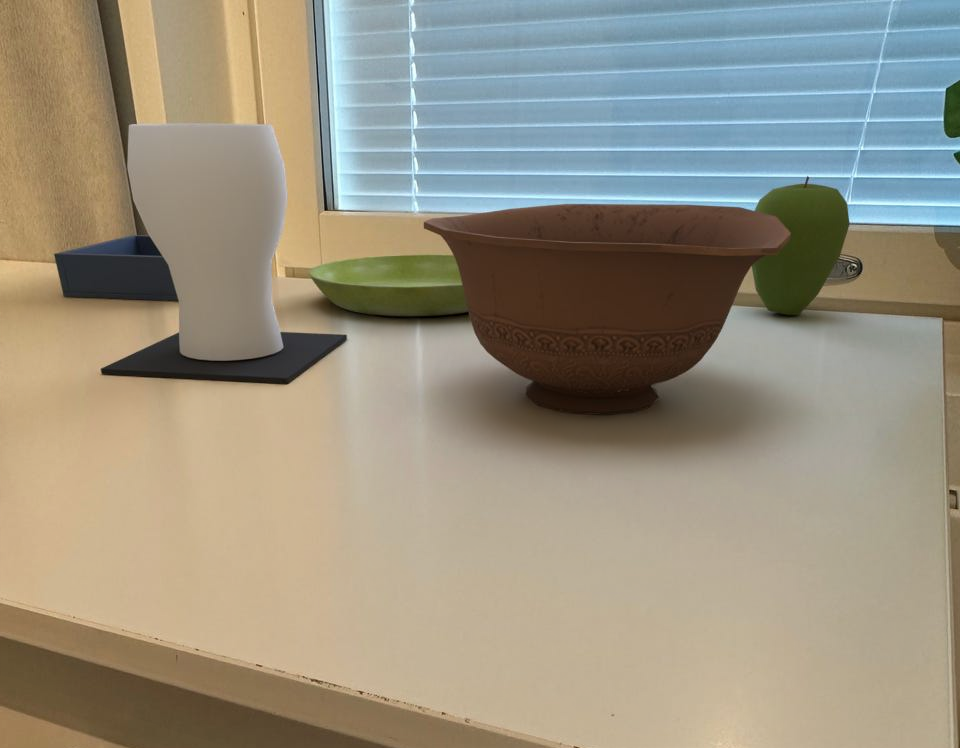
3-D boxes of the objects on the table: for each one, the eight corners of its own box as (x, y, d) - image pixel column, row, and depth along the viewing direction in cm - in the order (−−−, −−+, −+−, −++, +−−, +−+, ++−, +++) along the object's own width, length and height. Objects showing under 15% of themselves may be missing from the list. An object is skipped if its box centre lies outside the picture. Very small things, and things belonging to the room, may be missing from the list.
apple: (738, 303, 88) (757, 172, 82) (827, 308, 86) (854, 174, 80) (735, 320, 80) (756, 177, 75) (833, 326, 79) (862, 180, 73)
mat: (101, 374, 63) (100, 368, 63) (188, 332, 75) (188, 327, 75) (287, 383, 61) (286, 378, 61) (347, 339, 73) (346, 334, 73)
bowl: (836, 414, 56) (877, 223, 50) (544, 474, 46) (554, 247, 41) (622, 344, 72) (635, 194, 66) (374, 378, 63) (364, 206, 57)
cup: (328, 343, 70) (311, 124, 63) (245, 373, 62) (213, 126, 54) (221, 330, 74) (192, 122, 66) (129, 357, 66) (84, 124, 58)
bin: (63, 296, 89) (53, 253, 87) (139, 272, 102) (132, 234, 100) (208, 302, 87) (202, 258, 85) (267, 276, 100) (263, 238, 98)
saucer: (532, 287, 95) (533, 255, 93) (509, 328, 77) (510, 289, 76) (344, 282, 97) (342, 250, 96) (281, 320, 80) (277, 282, 78)
